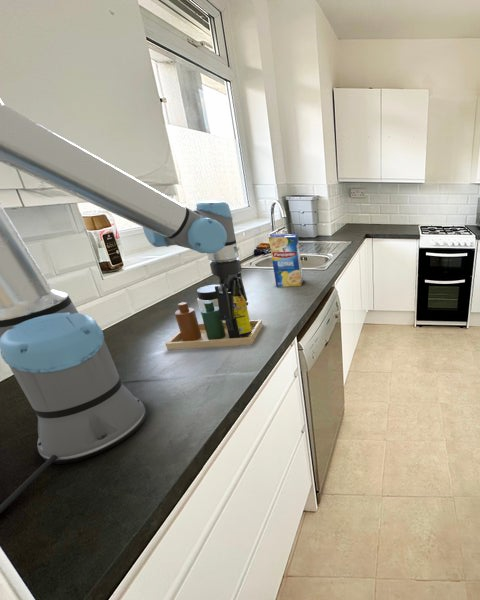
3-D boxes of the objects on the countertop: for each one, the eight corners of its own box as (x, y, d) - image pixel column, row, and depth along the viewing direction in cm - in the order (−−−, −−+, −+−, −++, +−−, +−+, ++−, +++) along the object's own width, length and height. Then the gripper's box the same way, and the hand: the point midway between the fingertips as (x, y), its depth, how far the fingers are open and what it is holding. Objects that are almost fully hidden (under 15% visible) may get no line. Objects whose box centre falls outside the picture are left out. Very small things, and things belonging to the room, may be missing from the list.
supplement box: (252, 333, 95) (246, 300, 91) (230, 339, 92) (223, 304, 88) (248, 326, 99) (242, 294, 95) (227, 331, 96) (220, 298, 92)
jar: (204, 329, 101) (195, 294, 97) (202, 320, 108) (194, 287, 103) (234, 322, 106) (227, 289, 101) (231, 314, 112) (224, 282, 108)
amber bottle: (197, 341, 92) (187, 306, 88) (179, 342, 92) (168, 307, 87) (204, 333, 97) (195, 299, 92) (187, 334, 96) (177, 300, 92)
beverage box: (301, 285, 141) (295, 236, 132) (276, 286, 139) (268, 237, 131) (303, 280, 147) (297, 233, 138) (279, 282, 145) (271, 234, 137)
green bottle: (222, 340, 93) (213, 305, 89) (205, 341, 93) (195, 305, 88) (228, 332, 98) (220, 298, 93) (211, 333, 97) (203, 299, 93)
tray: (251, 346, 91) (250, 338, 90) (168, 352, 88) (165, 343, 87) (263, 327, 103) (261, 319, 102) (189, 331, 100) (187, 323, 99)
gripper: (224, 269, 78) (241, 348, 86) (249, 250, 97) (261, 317, 105) (192, 270, 77) (212, 350, 85) (224, 251, 96) (238, 318, 104)
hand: (239, 331), depth 95 cm, fingers closed on supplement box, 8 cm apart
